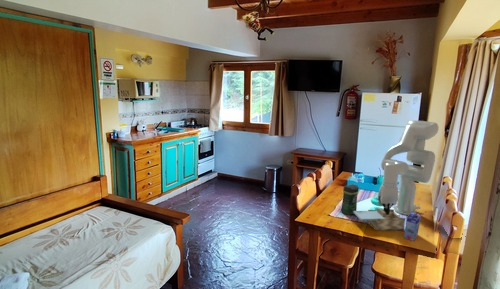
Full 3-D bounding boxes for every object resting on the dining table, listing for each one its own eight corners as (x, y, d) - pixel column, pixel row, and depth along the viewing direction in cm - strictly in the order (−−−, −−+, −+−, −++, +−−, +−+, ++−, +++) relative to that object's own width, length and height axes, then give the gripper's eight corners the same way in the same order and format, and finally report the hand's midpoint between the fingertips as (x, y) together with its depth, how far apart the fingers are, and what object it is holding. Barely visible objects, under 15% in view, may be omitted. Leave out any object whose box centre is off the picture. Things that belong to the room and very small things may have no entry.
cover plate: (379, 212, 180) (379, 206, 179) (388, 220, 170) (388, 214, 169) (353, 212, 179) (353, 207, 178) (360, 220, 169) (361, 214, 168)
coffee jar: (349, 216, 187) (352, 188, 184) (339, 211, 194) (341, 184, 190) (358, 212, 193) (361, 185, 189) (348, 208, 199) (350, 182, 195)
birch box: (392, 220, 183) (393, 209, 181) (403, 230, 171) (405, 218, 169) (367, 221, 181) (368, 209, 180) (376, 230, 169) (378, 218, 168)
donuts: (390, 202, 185) (374, 202, 185) (389, 217, 187) (373, 217, 187) (383, 196, 195) (368, 196, 195) (382, 210, 197) (366, 210, 197)
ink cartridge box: (414, 241, 159) (418, 216, 156) (403, 238, 162) (406, 213, 159) (418, 234, 166) (422, 210, 163) (407, 231, 169) (410, 207, 167)
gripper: (398, 181, 175) (394, 210, 179) (373, 182, 174) (370, 211, 177) (406, 186, 168) (402, 216, 171) (380, 186, 166) (377, 217, 170)
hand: (386, 213), depth 174 cm, fingers closed
